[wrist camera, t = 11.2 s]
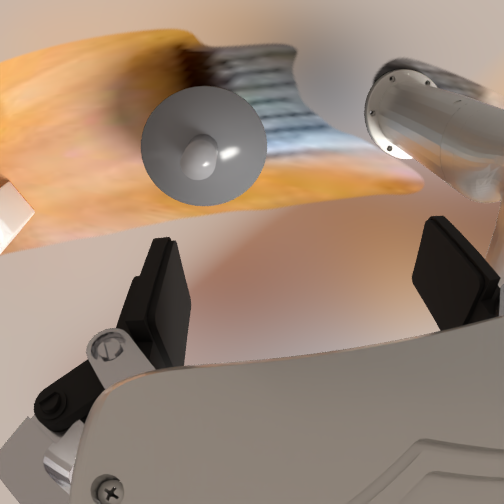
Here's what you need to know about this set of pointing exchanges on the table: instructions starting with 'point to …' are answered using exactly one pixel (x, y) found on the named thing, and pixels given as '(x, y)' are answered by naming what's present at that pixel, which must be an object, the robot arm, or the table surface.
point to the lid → (204, 146)
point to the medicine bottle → (12, 214)
